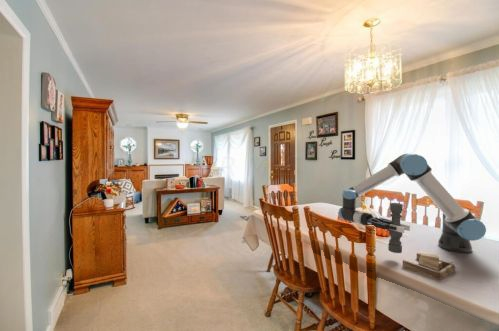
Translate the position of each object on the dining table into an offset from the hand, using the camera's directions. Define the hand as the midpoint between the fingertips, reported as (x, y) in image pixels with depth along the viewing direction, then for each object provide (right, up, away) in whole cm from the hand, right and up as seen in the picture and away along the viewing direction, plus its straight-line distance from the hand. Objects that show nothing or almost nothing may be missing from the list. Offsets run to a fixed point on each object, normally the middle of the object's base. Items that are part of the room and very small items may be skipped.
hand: (406, 229), depth 120 cm
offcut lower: (+11, -18, -2) cm, 21 cm away
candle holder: (-3, -13, +5) cm, 14 cm away
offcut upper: (+10, -15, -2) cm, 18 cm away
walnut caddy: (+7, -18, -4) cm, 20 cm away
